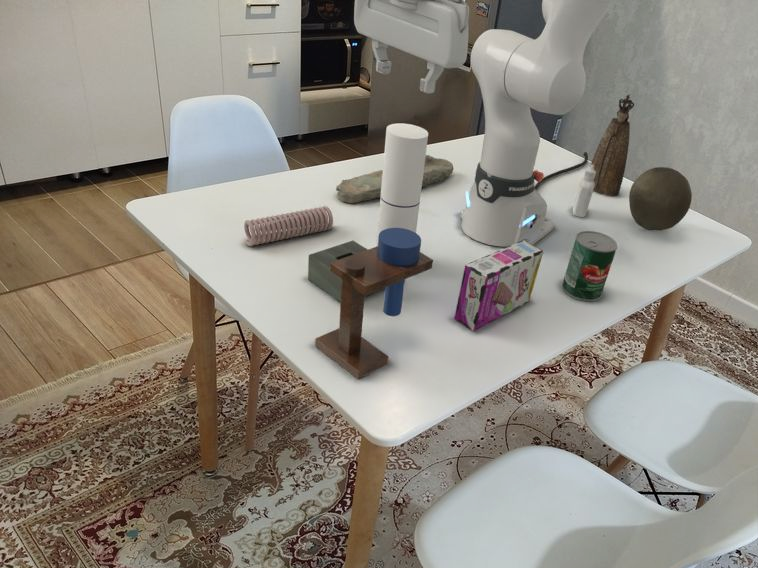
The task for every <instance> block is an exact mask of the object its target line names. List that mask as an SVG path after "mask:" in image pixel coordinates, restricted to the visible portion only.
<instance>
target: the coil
mask: <svg viewBox="0 0 758 568" xmlns="http://www.w3.org/2000/svg"><path fill="white" fill-rule="evenodd" d="M333 224H334V217H333V213H332V210H331V209H330V207H329V206H326V205H324V206H319V207H314V208H308V209H305V210H300V211H299V210H296V211H295V212H294V211H291V212H286V213H281V214H276V215H272V216H266V217H260V218H256V219H254V218H253V219H250V220H245V221H244V223H243V228H244V229H243V230H244V233H245V236H246V238H247V240H246V241H245V245H246V246H248V247H253V246H258V245H262V244H268V243H272V242H277V241H282V240H286V239H289V238H296V237H301V236H306V235H310V234H315V233H320V232H325V231H330V230H333V228H334V226H333Z"/></svg>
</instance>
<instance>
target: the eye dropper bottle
mask: <svg viewBox="0 0 758 568" xmlns="http://www.w3.org/2000/svg"><path fill="white" fill-rule="evenodd" d="M590 165H591V164H590ZM590 165H589V168H586V169H585V171H584V175H583V178H582V179H581V180H580V182H579V185H578V187H577V192H576V196H575V199H574V203H573V208H572V214H573V216H575V217H579V218H584V217H586V216H587V213H588V209H589V207H590V204H591V199H592V196H593V193H594V191H593V189H594V185H595V184H594V181H593V180H594V178H595V174H596V171H595V170H594V165H591V166H590Z"/></svg>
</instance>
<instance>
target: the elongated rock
mask: <svg viewBox="0 0 758 568" xmlns="http://www.w3.org/2000/svg"><path fill="white" fill-rule="evenodd" d="M454 170H455V169H454V165H453V163H452V162H451V161H449V160H447V159H445V158H437V157H434V156H431V155H430V154H428V155H427V154H426V157H425V165H424V173H423V181H422V187H426V186H429V185H430V184H434V183H440V182H442V181H444V179H446V178H448V177H449V176H451V175H452V174H453V173H454ZM382 174H383V169H379V170H377V171H373V172H370V173H367V174H362V175H359V176H354V177H352V178H349V179H342V180H341V182H340V183H339V184H338V185H336V188H335V191H336V192H337V198H338V199H339V200H341V201H343V202H344V203H347V204H357V203H359V202H362V201H370V200H373V199H379V198H380V197H381V186H382Z"/></svg>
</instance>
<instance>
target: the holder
mask: <svg viewBox="0 0 758 568" xmlns="http://www.w3.org/2000/svg"><path fill="white" fill-rule="evenodd" d="M365 250H368V249H367V248H366V247H365V246H363V245H361V244H360V243H358V242H357V241H355V240H349V241H347V242H343V243H341V244H338V245H335V246H332V247H329V248H325V249H322V250H319V251H316V252H313V253H310V254H308V261H307V263H308V266H307V278H308V279H307V280H308V281H310V282H311V283H312V284H314V285H315V286H316V287H318V288H319V289H321V290H322V291H324V292H325V293H326V294H328V295H329V296H330V297H332V298H333V299H335V300H336V301H338V302H339V303H341V287H342V279H340V278H339V277H337V276H336V275H334V274H333V273H332V272H330V263H331V262H334V261H337V260H340V259H342V258H345V257H348V256H351V255H354V254H357V253H360V252H363V251H365ZM381 291H385V288H382V289H380V290H377V291H375V292H373V293H370V294H368V295H365V297H364V298H366V297H370V296H371V295H374V294H376V293H379V292H381Z"/></svg>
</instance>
